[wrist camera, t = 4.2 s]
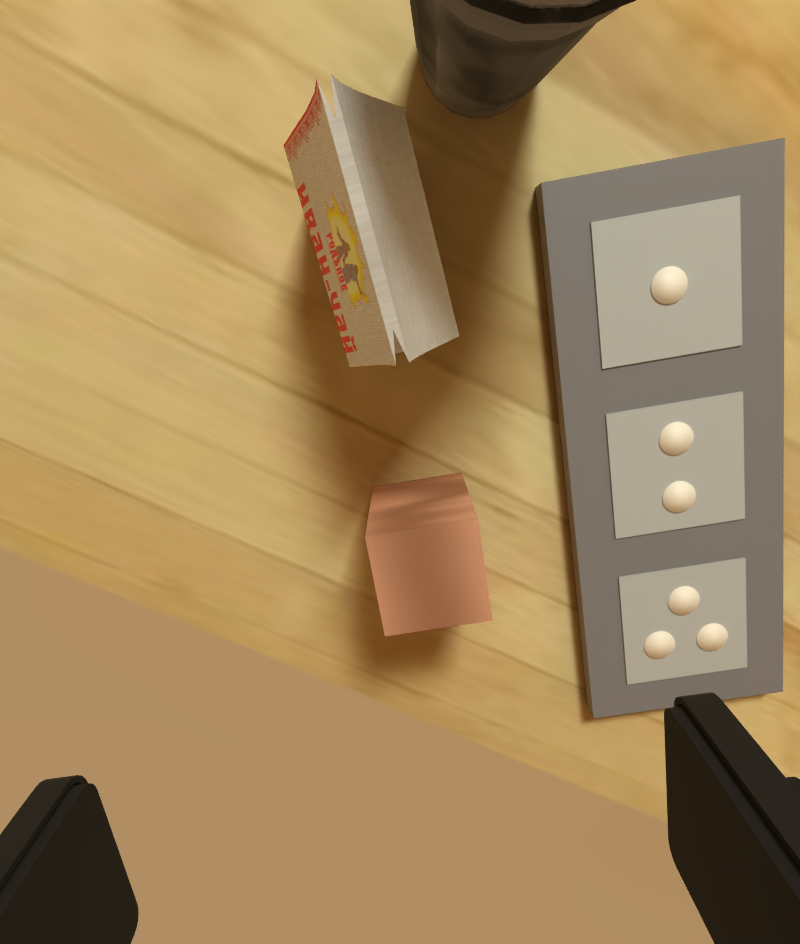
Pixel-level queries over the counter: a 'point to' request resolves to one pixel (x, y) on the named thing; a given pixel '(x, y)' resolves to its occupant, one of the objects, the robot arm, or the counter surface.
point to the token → (426, 555)
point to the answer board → (672, 420)
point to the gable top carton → (370, 227)
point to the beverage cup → (497, 46)
